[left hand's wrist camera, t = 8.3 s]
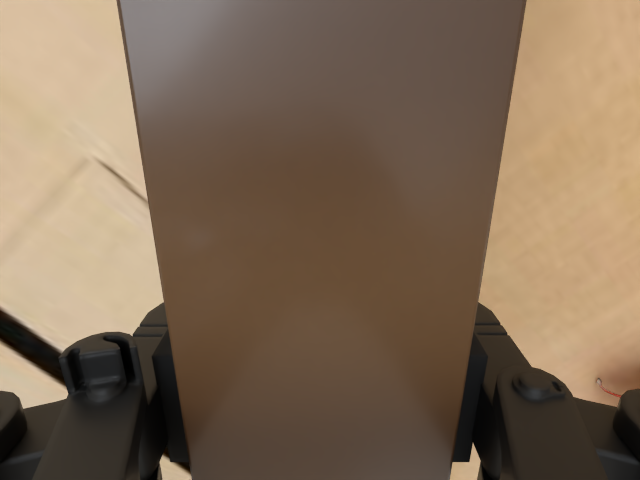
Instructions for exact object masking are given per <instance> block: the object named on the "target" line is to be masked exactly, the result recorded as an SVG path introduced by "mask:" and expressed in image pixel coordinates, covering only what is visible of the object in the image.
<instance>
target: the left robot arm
mask: <svg viewBox="0 0 640 480" xmlns="http://www.w3.org/2000/svg"><path fill="white" fill-rule="evenodd" d="M59 362H60V365H61V369H62V372H63V376H64V380H65V383H66V387H67V390H68V396H67V399H64V400H61V401H57V402H53V403H48V404H44V405H39V406H35V407H30V408H25V409H23V408H22V405H21V402H20V399H19V397H17V396H16V395H15V394H14V393H12V392H5V391H0V480H162V474H161V468H160V459H161V457H162V454H163V452H164V449H165V447H166V445H168V451H169V456H170V462H189V457H188V451H187V444H186V438H185V432H184V425H183V419H182V412H181V406H180V400H179V393H178V387H177V381H176V374H175V368H174V362H173V355H172V349H171V343H170V336H169V330H168V324H167V317H166V311H165V304H164V303H162V304H160V305H159V306H157V307H156V308H154V309H153V310H151V311H150V312H149V313H148V314H147V315H146V317H145V318H144V319H143V321H142V322H141V324H140V327H138V328H137V329H136V331H135V332H134V333H133V337H132V336H131V335H130V334H126V333H122V332H105V333H100V334H96V335H91V336H89V337H86V338H84V339H82V340H79V341H77V342H75V343H74V344H72V345H71V346H69V347H68V348H66V349H65V350H64V352H63V353H62V354H61V355H60V356H59ZM473 443H474V445H475V448H476V450H477V453H478V455H479V458H480V460H481V462H480V468H479V473H478V478H477V480H640V389H635V390H629V391H627V392H625V393H624V394H623V395H622V396H621V398H620V401H619V404H618V407H614V406H609V405H605V404H600V403H596V402H591V401H586V400H582V399H579V398H575V397H573V396H572V393H571V392H570V391H569V389H568V388H567V386H566V385H565V384H564V383H563V382H561V381H560V380H559V379H558V378H556V377H555V376H554V375H551V374H549V373H547V372H545V371H543V370H541V369H537V368H533V367H531V365H530V364H529V363H528V361H527V360H526V358H525V357H524V356H523V354H522V353H521V351H520V350H519V349H518V347H517V346H516V344H515V343H514V342H513V340H512V339H511V337H510V336H509V335H507V332H506V330H505V329H504V328H503V326H502V325H500V322H499V321H498V319H497V318H496V316H495V315H494V314H493V312H492V311H491V310H489V309H488V308H486V307H485V306H483V305H482V304H480V303H479V302H478V305H477V312H476V318H475V324H474V330H473V337H472V343H471V349H470V355H469V362H468V368H467V374H466V380H465V386H464V393H463V399H462V405H461V411H460V418H459V424H458V430H457V436H456V443H455V449H454V455H453V461H452V462H469V460H470V455H471V449H472V444H473Z"/></svg>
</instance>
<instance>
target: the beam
mask: <svg viewBox="0 0 640 480" xmlns="http://www.w3.org/2000/svg"><path fill="white" fill-rule="evenodd" d="M117 6H118V12H119V19H120V25H121V31H122V38H123V44H124V50H125V57H126V63H127V69H128V76H129V82H130V89H131V95H132V101H133V108H134V114H135V120H136V127H137V133H138V139H139V146H140V152H141V158H142V165H143V171H144V177H145V184H146V190H147V196H148V203H149V209H150V216H151V222H152V228H153V235H154V241H155V247H156V254H157V260H158V266H159V273H160V279H161V285H162V292H163V298H164V304H165V311H166V317H167V324H168V330H169V336H170V343H171V349H172V355H173V362H174V368H175V374H176V381H177V387H178V393H179V400H180V406H181V412H182V419H183V425H184V432H185V438H186V444H187V451H188V457H189V463H190V470H191V476H192V480H450V474H451V468H452V461H453V455H454V449H455V443H456V436H457V430H458V424H459V418H460V411H461V405H462V399H463V393H464V386H465V380H466V374H467V368H468V362H469V355H470V349H471V343H472V337H473V330H474V324H475V318H476V312H477V305H478V299H479V293H480V287H481V280H482V274H483V268H484V262H485V256H486V249H487V243H488V237H489V231H490V224H491V218H492V212H493V206H494V199H495V193H496V187H497V181H498V175H499V168H500V162H501V156H502V150H503V143H504V137H505V131H506V125H507V118H508V112H509V106H510V100H511V93H512V87H513V81H514V75H515V69H516V62H517V56H518V50H519V44H520V37H521V31H522V25H523V19H524V12H525V6H526V0H117Z"/></svg>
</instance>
